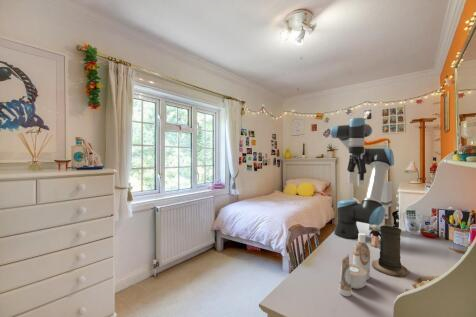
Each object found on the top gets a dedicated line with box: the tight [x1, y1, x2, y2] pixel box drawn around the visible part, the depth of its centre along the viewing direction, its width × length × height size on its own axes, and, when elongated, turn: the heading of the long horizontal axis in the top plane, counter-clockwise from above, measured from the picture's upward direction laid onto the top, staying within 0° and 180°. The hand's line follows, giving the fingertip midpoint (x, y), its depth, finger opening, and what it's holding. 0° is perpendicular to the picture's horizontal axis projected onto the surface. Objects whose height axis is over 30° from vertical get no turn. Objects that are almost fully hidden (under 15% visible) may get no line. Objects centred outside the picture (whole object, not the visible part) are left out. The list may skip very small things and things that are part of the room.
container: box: [378, 225, 402, 271], centre depth 109 cm, size 9×9×18 cm
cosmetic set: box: [338, 232, 371, 297], centre depth 95 cm, size 25×9×19 cm, turn 135°
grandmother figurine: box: [368, 225, 381, 249], centre depth 136 cm, size 8×4×13 cm, turn 47°
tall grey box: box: [368, 180, 393, 233], centre depth 166 cm, size 11×11×35 cm
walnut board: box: [371, 259, 409, 278], centre depth 109 cm, size 14×14×1 cm
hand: (355, 184), depth 129 cm, fingers open, 13 cm apart
